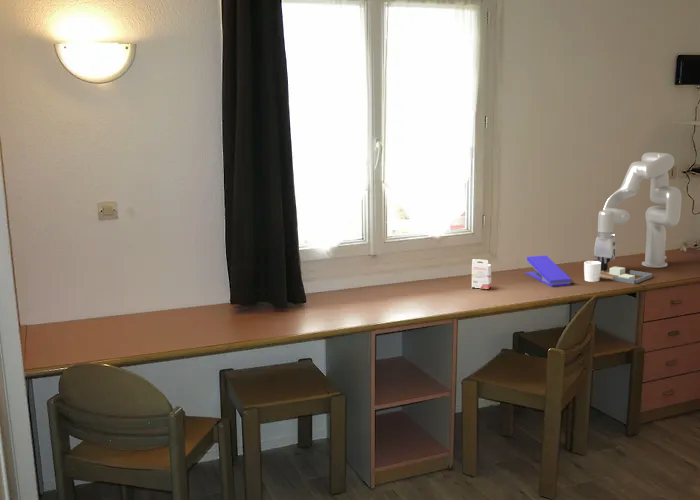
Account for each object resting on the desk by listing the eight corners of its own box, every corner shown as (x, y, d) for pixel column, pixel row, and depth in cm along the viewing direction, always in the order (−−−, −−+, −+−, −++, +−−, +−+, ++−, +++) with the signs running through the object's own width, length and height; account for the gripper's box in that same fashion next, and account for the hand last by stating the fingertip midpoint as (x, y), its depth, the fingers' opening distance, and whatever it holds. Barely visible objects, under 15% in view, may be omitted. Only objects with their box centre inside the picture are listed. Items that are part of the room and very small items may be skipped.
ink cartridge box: (491, 288, 349) (491, 258, 346) (488, 290, 344) (488, 260, 341) (474, 286, 353) (474, 256, 350) (471, 288, 348) (471, 259, 345)
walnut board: (604, 272, 372) (604, 269, 372) (629, 276, 362) (629, 273, 362) (588, 277, 362) (588, 275, 362) (613, 282, 352) (613, 279, 352)
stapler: (544, 273, 376) (544, 254, 374) (572, 285, 349) (573, 266, 347) (523, 274, 373) (524, 256, 371) (550, 288, 346) (551, 268, 344)
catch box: (630, 275, 363) (630, 270, 362) (652, 279, 355) (652, 273, 354) (612, 282, 352) (613, 276, 351) (635, 286, 343) (635, 280, 343)
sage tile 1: (624, 279, 354) (624, 273, 354) (634, 281, 350) (634, 275, 350) (618, 281, 351) (618, 275, 350) (628, 283, 347) (629, 277, 346)
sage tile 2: (614, 272, 367) (615, 266, 366) (625, 273, 363) (625, 267, 362) (609, 274, 363) (609, 268, 363) (619, 275, 359) (619, 269, 359)
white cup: (597, 285, 348) (598, 264, 346) (581, 283, 352) (581, 263, 350) (602, 281, 354) (603, 261, 352) (586, 279, 358) (587, 260, 356)
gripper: (623, 235, 361) (621, 271, 365) (595, 232, 372) (594, 266, 376) (615, 237, 356) (613, 274, 360) (588, 234, 367) (586, 269, 371)
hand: (603, 270), depth 368 cm, fingers closed
